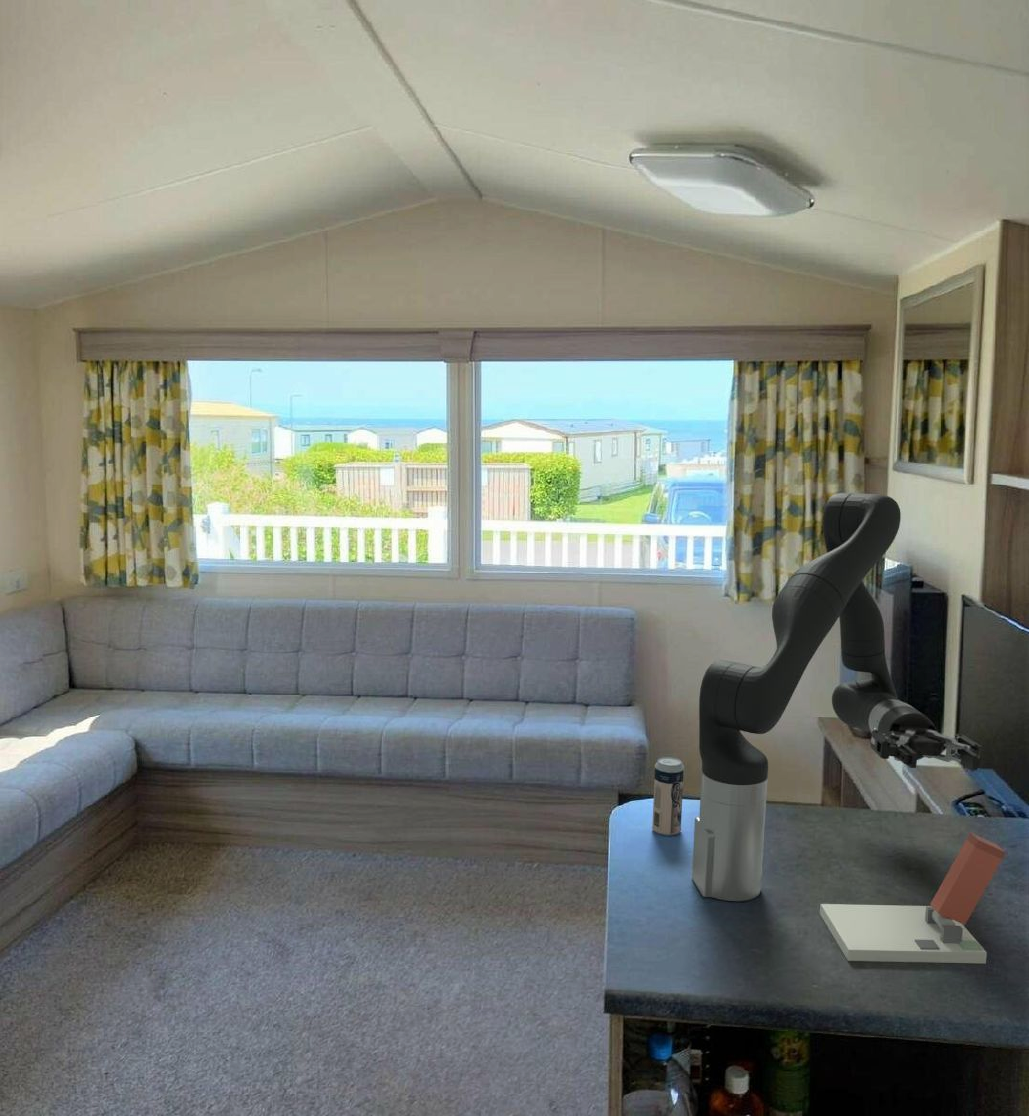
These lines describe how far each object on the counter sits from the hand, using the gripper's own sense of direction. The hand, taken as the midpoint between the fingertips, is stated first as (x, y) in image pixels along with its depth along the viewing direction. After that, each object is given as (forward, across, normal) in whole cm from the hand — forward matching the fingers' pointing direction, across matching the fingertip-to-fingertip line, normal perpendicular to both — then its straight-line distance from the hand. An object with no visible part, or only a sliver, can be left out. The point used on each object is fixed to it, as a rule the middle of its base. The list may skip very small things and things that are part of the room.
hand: (945, 762), depth 142 cm
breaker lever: (+10, -3, +18) cm, 21 cm away
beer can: (-23, -34, +21) cm, 46 cm away
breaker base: (+10, -8, +21) cm, 25 cm away
